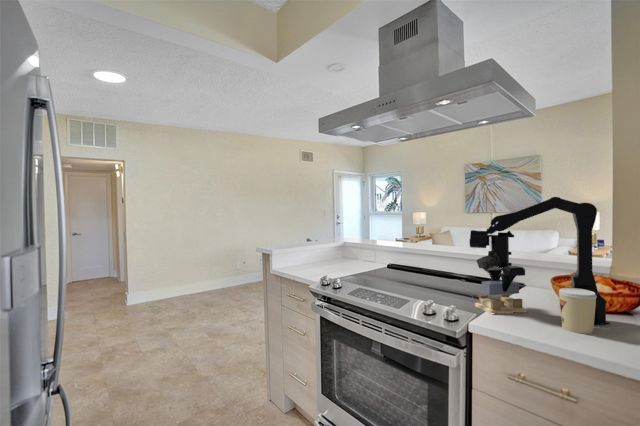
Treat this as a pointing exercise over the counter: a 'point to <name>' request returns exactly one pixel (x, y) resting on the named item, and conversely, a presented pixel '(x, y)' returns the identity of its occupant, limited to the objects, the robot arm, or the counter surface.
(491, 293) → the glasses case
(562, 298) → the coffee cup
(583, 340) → the counter surface
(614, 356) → the counter surface
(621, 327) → the counter surface
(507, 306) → the display stand
